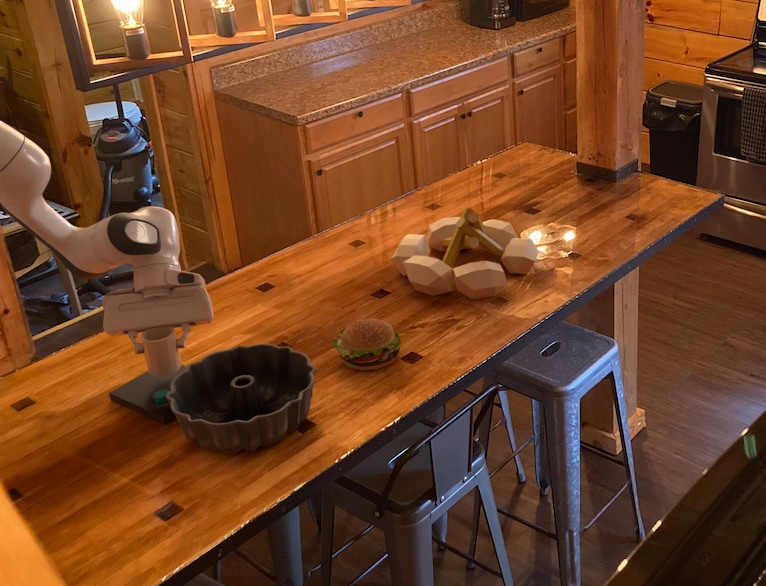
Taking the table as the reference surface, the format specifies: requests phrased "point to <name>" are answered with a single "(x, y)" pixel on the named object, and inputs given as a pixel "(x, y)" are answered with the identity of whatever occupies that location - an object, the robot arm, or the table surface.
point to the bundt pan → (243, 397)
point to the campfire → (451, 238)
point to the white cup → (161, 350)
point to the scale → (146, 395)
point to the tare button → (160, 396)
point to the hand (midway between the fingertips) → (160, 350)
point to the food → (368, 344)
